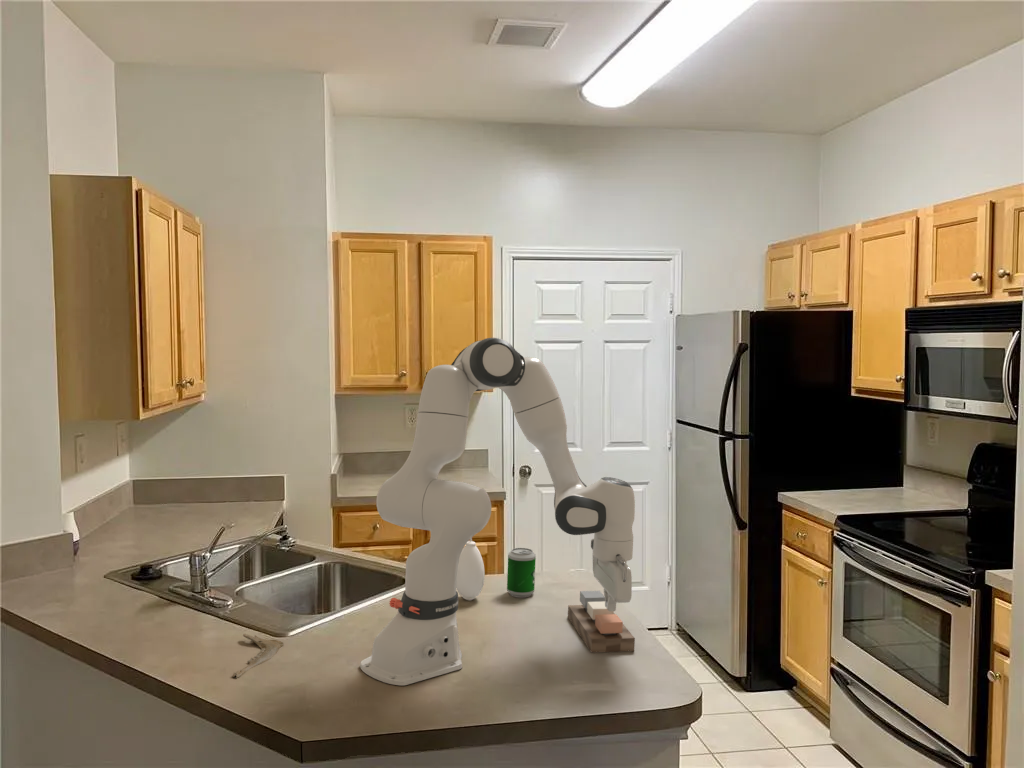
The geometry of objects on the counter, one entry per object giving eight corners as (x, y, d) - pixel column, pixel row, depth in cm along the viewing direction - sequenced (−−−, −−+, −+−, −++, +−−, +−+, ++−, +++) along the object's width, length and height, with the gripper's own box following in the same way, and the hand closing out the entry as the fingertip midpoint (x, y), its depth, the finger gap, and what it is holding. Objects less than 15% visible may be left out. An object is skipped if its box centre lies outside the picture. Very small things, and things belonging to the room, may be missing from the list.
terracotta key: (621, 646, 180) (622, 622, 179) (600, 647, 179) (601, 622, 178) (615, 638, 185) (616, 614, 184) (594, 638, 184) (595, 614, 183)
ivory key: (612, 632, 186) (613, 608, 186) (592, 632, 186) (593, 609, 185) (606, 624, 191) (607, 601, 191) (586, 624, 190) (587, 601, 190)
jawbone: (283, 641, 180) (284, 632, 179) (278, 682, 160) (279, 672, 160) (242, 640, 177) (243, 631, 177) (231, 682, 158) (232, 672, 157)
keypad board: (634, 651, 179) (634, 638, 178) (591, 652, 177) (592, 639, 177) (606, 615, 200) (606, 604, 200) (567, 616, 198) (568, 605, 198)
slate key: (604, 620, 193) (605, 597, 193) (584, 620, 192) (585, 597, 192) (598, 612, 198) (599, 590, 198) (579, 613, 197) (580, 591, 197)
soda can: (531, 600, 210) (533, 555, 209) (504, 597, 212) (505, 553, 211) (536, 591, 217) (538, 548, 217) (509, 588, 219) (511, 545, 218)
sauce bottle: (482, 604, 205) (485, 536, 204) (452, 603, 205) (455, 535, 204) (484, 594, 213) (486, 529, 212) (455, 593, 213) (457, 528, 212)
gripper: (640, 562, 169) (637, 625, 170) (614, 538, 190) (611, 595, 190) (611, 562, 168) (608, 625, 169) (588, 538, 189) (586, 595, 189)
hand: (610, 609), depth 180 cm, fingers closed
